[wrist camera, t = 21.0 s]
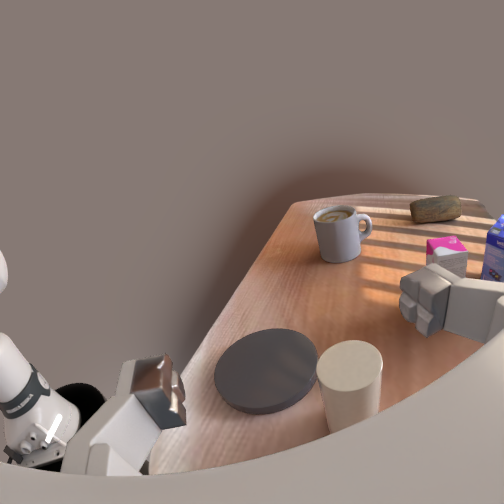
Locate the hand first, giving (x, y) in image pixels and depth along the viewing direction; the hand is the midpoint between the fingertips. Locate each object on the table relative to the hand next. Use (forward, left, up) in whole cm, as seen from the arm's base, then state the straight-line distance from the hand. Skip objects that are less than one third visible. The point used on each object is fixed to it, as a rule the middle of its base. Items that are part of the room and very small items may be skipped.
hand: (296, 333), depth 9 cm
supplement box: (+35, +4, -28) cm, 45 cm away
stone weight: (+68, +15, -28) cm, 75 cm away
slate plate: (+9, +22, -27) cm, 36 cm away
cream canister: (+10, +6, -27) cm, 30 cm away
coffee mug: (+45, +31, -28) cm, 61 cm away
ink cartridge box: (+44, -6, -28) cm, 53 cm away
